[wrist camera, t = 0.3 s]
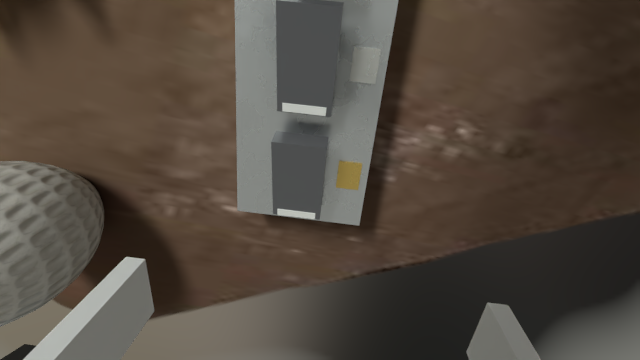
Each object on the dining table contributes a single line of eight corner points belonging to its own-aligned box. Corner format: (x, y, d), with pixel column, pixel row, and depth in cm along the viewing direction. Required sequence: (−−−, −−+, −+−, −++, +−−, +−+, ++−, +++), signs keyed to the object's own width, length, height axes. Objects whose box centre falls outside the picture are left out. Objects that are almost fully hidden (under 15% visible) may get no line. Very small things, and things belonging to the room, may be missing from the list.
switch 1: (281, -4, 25) (275, 0, 23) (343, 2, 25) (342, 7, 23) (281, 102, 30) (276, 111, 29) (332, 107, 30) (331, 117, 29)
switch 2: (275, 130, 29) (270, 142, 28) (328, 136, 29) (327, 148, 28) (276, 201, 35) (272, 214, 33) (321, 207, 35) (319, 220, 33)
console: (251, -167, 27) (228, -217, 21) (417, -153, 26) (434, -200, 21) (249, 191, 41) (235, 213, 35) (357, 204, 40) (359, 229, 35)
